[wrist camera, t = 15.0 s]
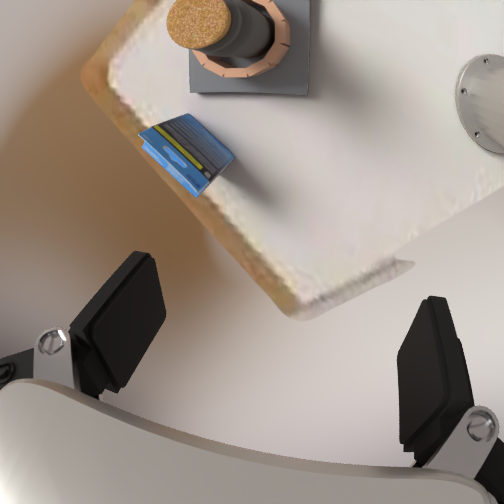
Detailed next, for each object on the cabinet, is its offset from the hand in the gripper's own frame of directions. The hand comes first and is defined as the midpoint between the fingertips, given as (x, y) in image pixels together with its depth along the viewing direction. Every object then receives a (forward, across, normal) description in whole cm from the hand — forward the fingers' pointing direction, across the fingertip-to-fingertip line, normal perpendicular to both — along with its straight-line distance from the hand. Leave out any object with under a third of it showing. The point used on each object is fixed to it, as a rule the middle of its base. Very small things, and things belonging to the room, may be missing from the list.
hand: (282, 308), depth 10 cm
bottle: (+29, +8, -11) cm, 32 cm away
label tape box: (+31, +15, +3) cm, 34 cm away
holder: (+30, +9, -11) cm, 33 cm away
